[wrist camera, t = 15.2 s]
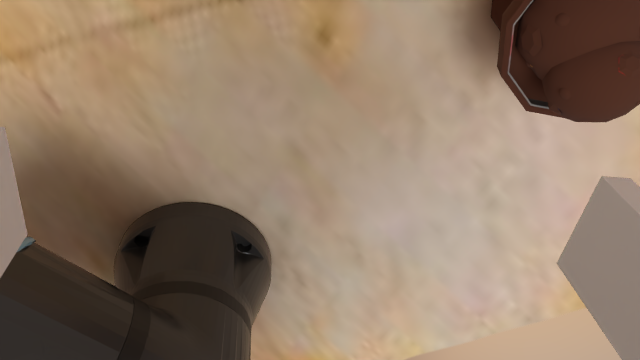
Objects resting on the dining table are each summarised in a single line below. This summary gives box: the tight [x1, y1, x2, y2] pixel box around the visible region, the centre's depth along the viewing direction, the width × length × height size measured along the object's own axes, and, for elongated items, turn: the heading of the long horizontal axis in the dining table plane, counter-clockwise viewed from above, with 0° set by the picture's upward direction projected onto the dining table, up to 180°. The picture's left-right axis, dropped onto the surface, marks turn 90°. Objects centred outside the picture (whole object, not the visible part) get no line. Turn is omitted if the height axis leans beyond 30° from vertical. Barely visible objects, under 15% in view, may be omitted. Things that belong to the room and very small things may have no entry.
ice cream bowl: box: [491, 0, 640, 122], centre depth 34 cm, size 11×11×15 cm
